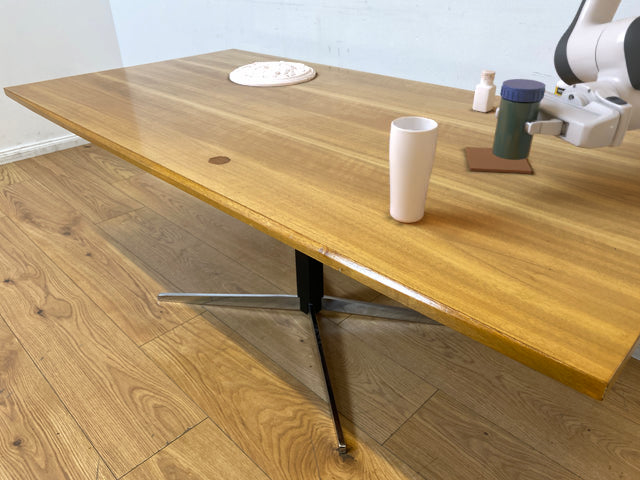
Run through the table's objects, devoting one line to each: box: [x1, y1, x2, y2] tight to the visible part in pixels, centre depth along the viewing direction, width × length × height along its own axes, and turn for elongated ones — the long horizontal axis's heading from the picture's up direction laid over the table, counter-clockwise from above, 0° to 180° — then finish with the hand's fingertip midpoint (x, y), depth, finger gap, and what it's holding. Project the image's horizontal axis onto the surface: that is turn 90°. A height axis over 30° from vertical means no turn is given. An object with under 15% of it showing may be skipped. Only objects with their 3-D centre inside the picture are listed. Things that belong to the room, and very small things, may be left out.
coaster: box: [464, 146, 533, 175], centre depth 95 cm, size 11×11×1 cm
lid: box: [499, 78, 546, 102], centre depth 73 cm, size 6×6×2 cm
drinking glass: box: [388, 116, 439, 224], centre depth 73 cm, size 7×7×15 cm
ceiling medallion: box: [229, 60, 317, 87], centre depth 158 cm, size 28×28×3 cm
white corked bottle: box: [472, 69, 497, 113], centre depth 121 cm, size 4×4×10 cm
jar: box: [491, 96, 541, 160], centre depth 76 cm, size 6×6×11 cm
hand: (512, 120), depth 76 cm, fingers closed on jar, 6 cm apart
